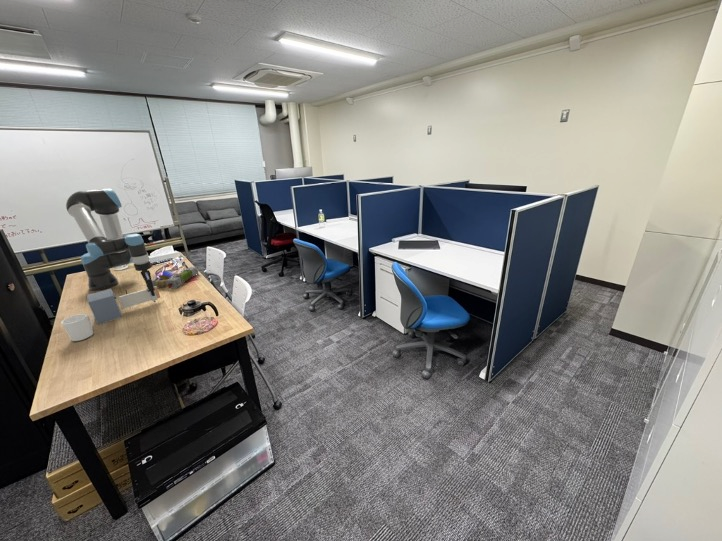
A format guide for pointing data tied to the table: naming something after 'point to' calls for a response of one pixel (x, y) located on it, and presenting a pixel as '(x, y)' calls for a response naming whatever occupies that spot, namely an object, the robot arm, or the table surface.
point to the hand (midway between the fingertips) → (154, 299)
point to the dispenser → (104, 306)
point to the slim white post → (137, 298)
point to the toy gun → (175, 278)
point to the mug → (78, 327)
